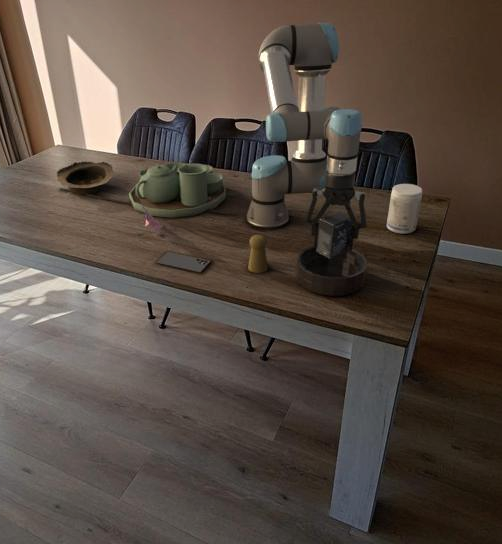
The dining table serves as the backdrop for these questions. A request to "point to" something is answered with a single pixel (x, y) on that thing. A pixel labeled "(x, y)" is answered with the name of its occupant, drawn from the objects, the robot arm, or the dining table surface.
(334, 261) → the bowl
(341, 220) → the box
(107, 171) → the stone bowl
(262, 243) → the cork
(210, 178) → the tea set
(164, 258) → the smartphone
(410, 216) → the supplement tub
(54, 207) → the dining table surface
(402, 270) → the dining table surface
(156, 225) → the lily
